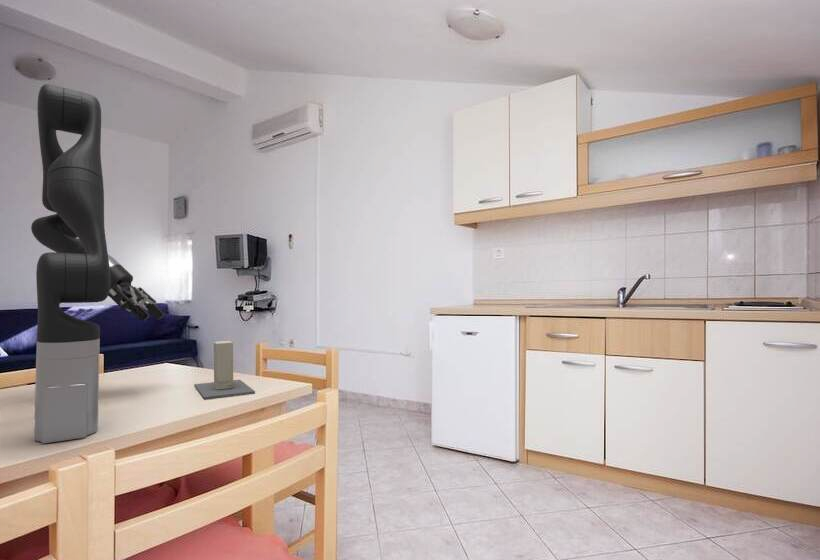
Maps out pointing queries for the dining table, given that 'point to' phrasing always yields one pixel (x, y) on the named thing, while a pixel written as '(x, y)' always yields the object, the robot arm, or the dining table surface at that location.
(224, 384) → the skincare box
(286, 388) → the dining table surface
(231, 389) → the mat
